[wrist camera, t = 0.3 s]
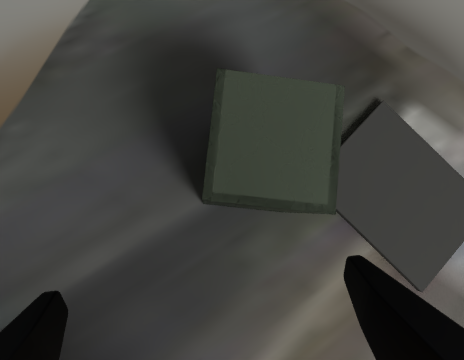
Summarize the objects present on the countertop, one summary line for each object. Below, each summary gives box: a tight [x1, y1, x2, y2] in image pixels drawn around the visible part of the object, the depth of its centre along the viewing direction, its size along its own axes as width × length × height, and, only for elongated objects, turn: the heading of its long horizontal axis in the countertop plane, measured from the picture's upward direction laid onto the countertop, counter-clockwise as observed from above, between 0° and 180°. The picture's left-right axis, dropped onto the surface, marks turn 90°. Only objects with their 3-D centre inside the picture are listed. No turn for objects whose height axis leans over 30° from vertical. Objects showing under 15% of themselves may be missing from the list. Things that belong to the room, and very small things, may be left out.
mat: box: [336, 101, 464, 292], centre depth 25 cm, size 12×9×1 cm
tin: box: [202, 68, 345, 214], centre depth 19 cm, size 6×6×10 cm
